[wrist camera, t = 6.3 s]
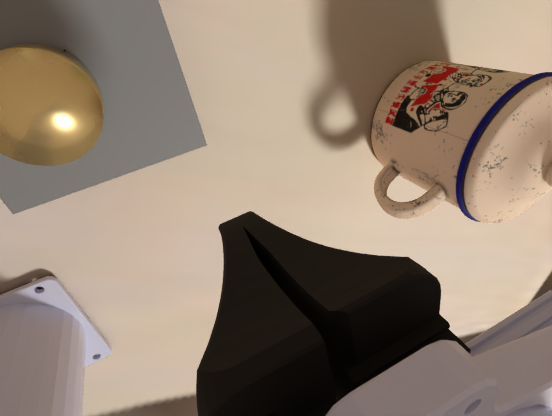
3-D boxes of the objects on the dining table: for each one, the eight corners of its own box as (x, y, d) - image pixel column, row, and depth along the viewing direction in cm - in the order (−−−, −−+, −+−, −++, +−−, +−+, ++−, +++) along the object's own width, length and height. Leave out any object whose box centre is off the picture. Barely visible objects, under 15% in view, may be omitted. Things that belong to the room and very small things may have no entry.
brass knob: (30, 147, 17) (12, 181, 14) (-30, 55, 15) (-71, 68, 11) (118, 119, 18) (122, 144, 15) (75, 28, 16) (68, 33, 12)
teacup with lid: (446, 28, 24) (656, 38, 15) (467, 126, 30) (631, 177, 21) (316, 136, 24) (450, 214, 15) (362, 215, 30) (480, 307, 20)
